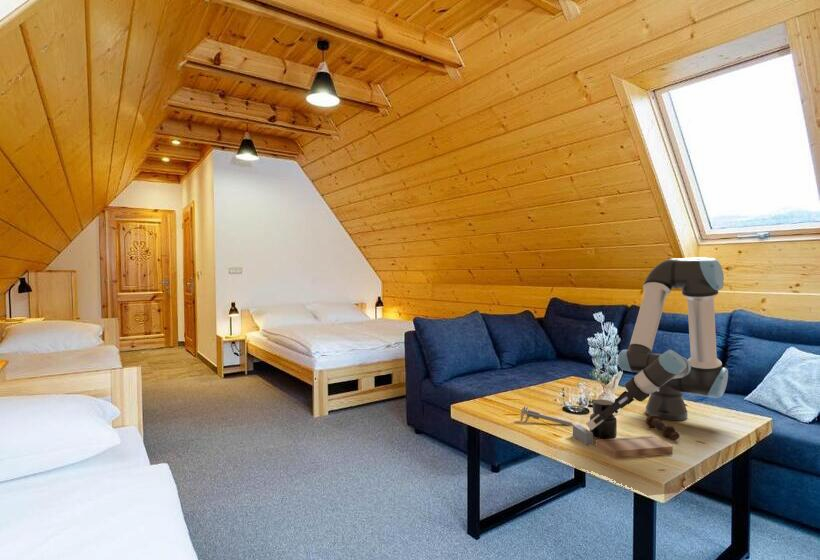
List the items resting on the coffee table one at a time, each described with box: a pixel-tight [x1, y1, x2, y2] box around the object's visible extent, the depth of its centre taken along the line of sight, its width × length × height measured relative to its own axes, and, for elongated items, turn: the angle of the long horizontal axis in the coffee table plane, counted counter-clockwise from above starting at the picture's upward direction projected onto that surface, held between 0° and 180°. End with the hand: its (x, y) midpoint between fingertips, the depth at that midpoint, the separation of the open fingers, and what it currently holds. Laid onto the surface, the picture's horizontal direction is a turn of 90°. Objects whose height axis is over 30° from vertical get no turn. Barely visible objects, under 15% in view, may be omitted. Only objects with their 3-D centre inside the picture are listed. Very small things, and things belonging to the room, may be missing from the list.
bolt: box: [645, 414, 680, 441], centre depth 173 cm, size 6×5×15 cm
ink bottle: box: [589, 399, 618, 440], centre depth 169 cm, size 10×9×12 cm
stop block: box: [572, 424, 594, 446], centre depth 167 cm, size 2×9×4 cm, turn 10°
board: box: [595, 435, 674, 460], centre depth 158 cm, size 21×10×2 cm, turn 100°
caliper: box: [520, 405, 576, 426], centre depth 186 cm, size 20×1×6 cm, turn 73°
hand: (593, 423), depth 171 cm, fingers closed on ink bottle, 9 cm apart
